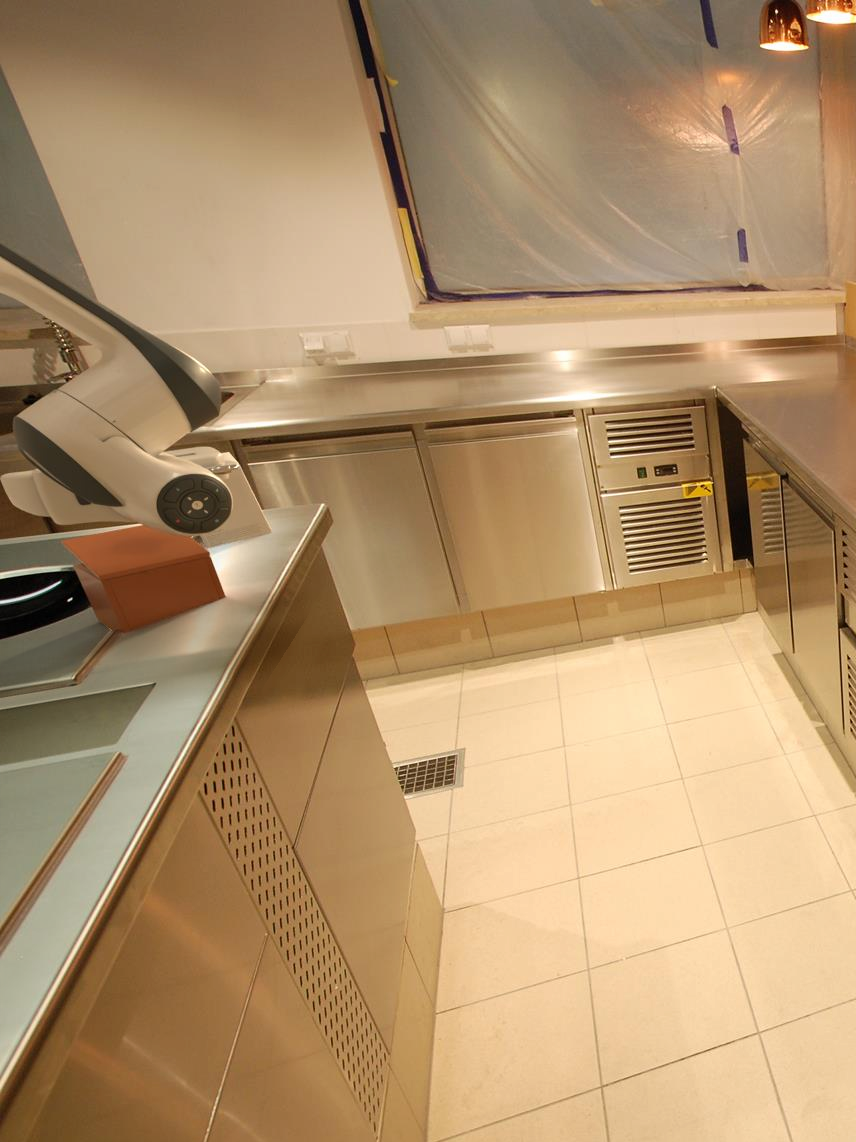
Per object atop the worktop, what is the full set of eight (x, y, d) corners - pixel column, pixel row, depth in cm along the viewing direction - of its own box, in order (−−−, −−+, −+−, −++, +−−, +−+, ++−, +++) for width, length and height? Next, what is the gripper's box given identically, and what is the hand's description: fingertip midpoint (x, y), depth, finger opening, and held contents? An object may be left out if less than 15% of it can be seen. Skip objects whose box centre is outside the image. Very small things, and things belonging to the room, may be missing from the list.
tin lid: (62, 545, 110) (60, 540, 109) (171, 524, 119) (170, 519, 118) (100, 580, 106) (98, 575, 105) (210, 556, 114) (209, 551, 114)
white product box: (270, 532, 147) (230, 450, 139) (281, 548, 141) (240, 462, 133) (206, 548, 141) (161, 463, 133) (214, 565, 136) (168, 477, 128)
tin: (99, 624, 114) (72, 564, 111) (201, 598, 123) (180, 542, 119) (128, 643, 109) (101, 581, 106) (232, 614, 118) (210, 556, 114)
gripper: (237, 442, 108) (192, 429, 114) (14, 474, 92) (-22, 457, 98) (253, 490, 110) (209, 475, 117) (40, 529, 95) (3, 509, 101)
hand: (102, 467), depth 108 cm, fingers closed on candle, 5 cm apart
